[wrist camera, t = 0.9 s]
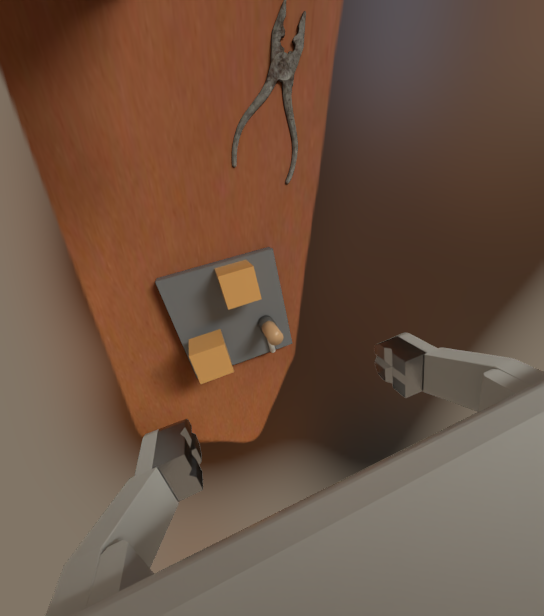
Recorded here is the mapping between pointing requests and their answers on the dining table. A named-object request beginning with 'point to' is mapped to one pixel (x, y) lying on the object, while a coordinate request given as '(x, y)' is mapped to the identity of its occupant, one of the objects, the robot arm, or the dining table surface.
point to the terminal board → (225, 316)
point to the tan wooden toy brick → (238, 283)
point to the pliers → (278, 71)
